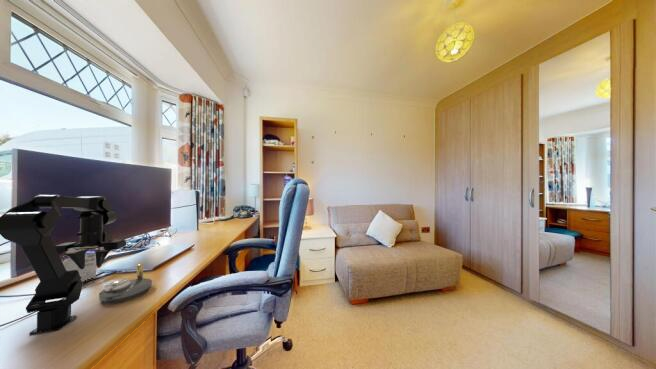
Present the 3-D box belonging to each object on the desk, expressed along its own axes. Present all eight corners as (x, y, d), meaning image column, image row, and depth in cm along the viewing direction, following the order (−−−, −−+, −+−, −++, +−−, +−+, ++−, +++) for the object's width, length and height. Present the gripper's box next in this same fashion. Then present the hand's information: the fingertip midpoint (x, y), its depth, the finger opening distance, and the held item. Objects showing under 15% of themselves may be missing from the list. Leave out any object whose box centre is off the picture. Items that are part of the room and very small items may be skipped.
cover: (122, 291, 76) (123, 284, 76) (99, 294, 74) (99, 287, 74) (134, 283, 83) (134, 276, 83) (112, 285, 81) (113, 278, 81)
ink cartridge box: (95, 275, 96) (95, 245, 96) (96, 278, 93) (97, 247, 93) (61, 283, 88) (61, 251, 88) (61, 287, 85) (62, 253, 85)
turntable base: (137, 300, 75) (137, 297, 75) (92, 306, 71) (92, 303, 71) (155, 284, 88) (155, 281, 88) (117, 288, 84) (117, 285, 84)
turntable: (139, 297, 75) (139, 278, 75) (86, 304, 70) (87, 284, 70) (161, 277, 91) (161, 261, 91) (119, 282, 86) (120, 265, 86)
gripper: (134, 223, 87) (134, 258, 87) (78, 225, 81) (77, 263, 81) (116, 228, 76) (116, 268, 76) (50, 231, 70) (49, 274, 70)
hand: (90, 268), depth 76 cm, fingers open, 5 cm apart
